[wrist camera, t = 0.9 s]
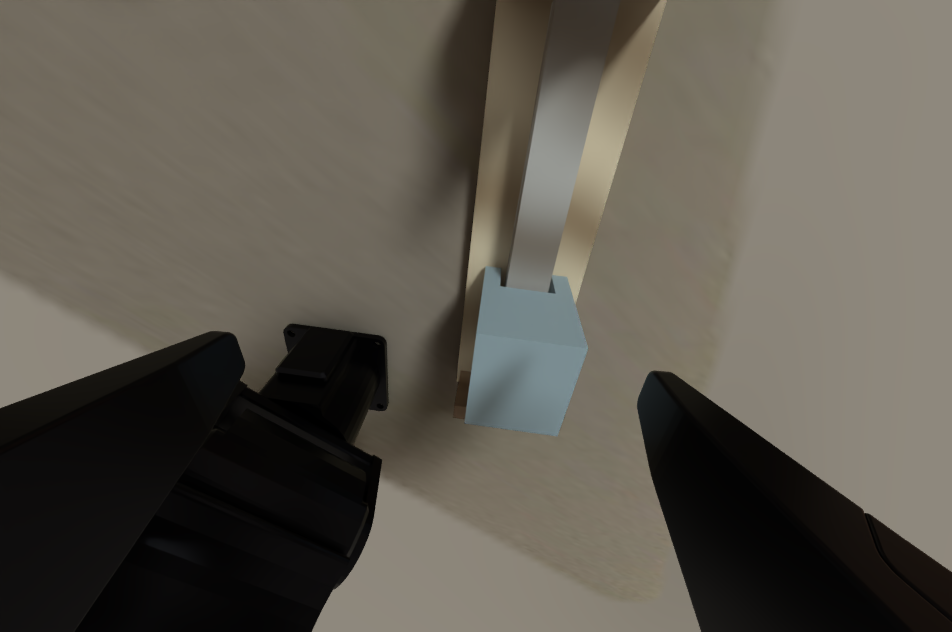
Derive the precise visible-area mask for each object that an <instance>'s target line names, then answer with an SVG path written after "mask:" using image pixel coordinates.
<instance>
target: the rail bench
mask: <svg viewBox="0 0 952 632" xmlns="http://www.w3.org/2000/svg"><path fill="white" fill-rule="evenodd" d="M666 1H667V0H497V1H496V10H495V20H494V29H493V39H492V48H491V57H490V67H489V76H488V86H487V95H486V105H485V114H484V124H483V133H482V143H481V152H480V162H479V171H478V180H477V190H476V199H475V209H474V218H473V228H472V237H471V247H470V256H469V266H468V275H467V284H466V294H465V303H464V313H463V322H462V332H461V341H460V351H459V360H458V370H457V379H456V381H457V382H458V388H457V394H456V399H455V405H454V414H453V418H459V419H465V415H466V407H467V400H468V392H469V385H470V377H471V370H472V362H473V355H474V347H475V340H476V333H477V325H478V318H479V311H480V304H481V297H482V289H483V282H484V275H485V268H486V266H489V267H497V268H501V282H500V286H502V287H509V288H517V289H524V290H531V291H539V292H546V293H548V290H549V286H550V282H551V278H552V275H556V276H564V277H567V278H568V282H569V285H570V289H571V292H572V295H573V299H574V302H575V303H576V300H577V297H578V293H579V290H580V287H581V284H582V280H583V277H584V274H585V270H586V267H587V264H588V260H589V257H590V254H591V250H592V247H593V244H594V240H595V237H596V234H597V230H598V227H599V224H600V220H601V217H602V214H603V210H604V207H605V204H606V200H607V197H608V194H609V190H610V187H611V184H612V181H613V177H614V174H615V171H616V167H617V164H618V161H619V157H620V154H621V151H622V147H623V144H624V141H625V137H626V134H627V131H628V127H629V124H630V121H631V117H632V114H633V111H634V107H635V104H636V101H637V97H638V94H639V91H640V87H641V84H642V81H643V78H644V74H645V71H646V68H647V64H648V61H649V58H650V54H651V51H652V48H653V44H654V41H655V38H656V34H657V31H658V28H659V24H660V21H661V18H662V14H663V11H664V8H665V4H666Z"/></svg>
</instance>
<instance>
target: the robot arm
mask: <svg viewBox="0 0 952 632" xmlns="http://www.w3.org/2000/svg"><path fill="white" fill-rule="evenodd" d="M291 331H293V332H294V333H293V332H291ZM283 333H284V337H285V342H286V346H287V351H288V354H287V356H286V357H285V358H284V359H283V360H282V362H281V363H280V364H279V365H278V366H277V368H276V372H275V374H274V375H273V376H272V377H271V379H270V380H269V381H268V382H267V383H266V385H265V386H264V387H263V388H262V390H261V391H260V392H259V393H257V392H255V391H253V390H251V389H250V388H248V387H247V386H248V385H246V384H245V383H243V382H241V381H239V380H240V378H241V376H242V375H243V372H244V369H245V361H244V358H243V355H242V352H241V349H240V347H239V344H238V341H237V338H236V337H235V335H234V334H232V333H230V332H221V331H210V332H207V333H205V334H202V335H199V336H196V337H194V338H191V339H188V340H185V341H183V342H180V343H177V344H175V345H172V346H169V347H166V348H164V349H161V350H158V351H155V352H153V353H150V354H147V355H144V356H142V357H139V358H136V359H134V360H131V361H128V362H126V363H123V364H120V365H117V366H114V367H112V368H109V369H106V370H103V371H101V372H98V373H95V374H93V375H90V376H87V377H84V378H82V379H79V380H76V381H73V382H71V383H68V384H65V385H62V386H60V387H57V388H54V389H51V390H49V391H46V392H44V393H41V394H38V395H35V396H33V397H30V398H27V399H24V400H21V401H19V402H16V403H13V404H11V405H8V406H5V407H2V408H0V632H312V629H313V627H314V625H315V623H316V621H317V619H318V617H319V615H320V613H321V610H322V609H323V607H324V605H325V603H326V601H327V599H328V597H329V596H330V594H331V592H332V590H333V589H336V588H337V587H338V586H339V585H340V584H341V583H342V582H343V581H344V580H345V579H346V577H347V576H348V575H349V573H350V572H351V570H352V569H353V567H354V565H355V564H356V562H357V560H358V558H359V557H360V555H361V553H362V550H363V548H364V546H365V544H366V541H367V539H368V536H369V533H370V530H371V527H372V523H373V518H374V512H375V505H376V498H377V492H378V485H379V478H380V471H381V464H382V459H380V458H378V457H377V456H375V455H373V456H371V455H369V454H368V453H366V452H364V451H362V450H360V449H359V448H357V447H355V446H353V444H354V442H355V440H356V437H357V435H358V433H359V431H360V428H361V426H362V424H363V421H364V419H365V417H366V415H367V412H368V410H376V411H385V410H386V409H387V407H388V404H389V399H388V369H387V342H386V340H385V338H383V337H382V336H379V335H372V334H365V333H357V332H350V331H343V330H336V329H328V328H321V327H314V326H306V325H298V324H289V325H287V327H286V328H285V329H284V330H283ZM375 342H378V343H380V345H378V344H376V343H375ZM637 409H638V414H639V419H640V424H641V429H642V434H643V439H644V444H645V449H646V454H647V459H648V464H649V468H650V472H651V477H652V480H653V483H654V487H655V490H656V493H657V496H658V499H659V502H660V505H661V509H662V512H663V515H664V518H665V521H666V524H667V527H668V530H669V533H670V536H671V540H672V543H673V546H674V549H675V552H676V555H677V558H678V561H679V564H680V567H681V571H682V574H683V577H684V579H685V583H686V586H687V589H688V592H689V595H690V598H691V601H692V605H693V608H694V611H695V614H696V617H697V620H698V623H699V626H700V629H701V632H952V572H951V571H949V570H948V569H946V568H945V567H943V566H942V565H941V564H939V563H938V562H936V561H935V560H934V559H932V558H931V557H929V556H928V555H927V554H925V553H924V552H922V551H921V550H919V549H918V548H917V547H915V546H914V545H912V544H911V543H909V542H908V541H906V540H905V539H903V538H902V537H901V536H899V535H898V534H897V533H895V532H894V531H892V530H891V529H890V528H888V527H887V526H885V525H884V524H883V523H881V522H880V521H878V520H877V519H876V518H874V517H873V516H872V515H870V514H868V513H864V511H863V509H862V508H860V507H859V506H857V505H856V504H855V503H853V502H852V501H851V500H849V499H848V498H846V497H845V496H844V495H842V494H840V493H839V492H838V491H837V490H835V489H834V488H832V487H831V486H830V485H828V484H827V483H825V482H824V481H823V480H821V479H820V478H819V477H817V476H816V475H814V474H813V473H812V472H810V471H809V470H807V469H806V468H805V467H803V466H802V465H800V464H799V463H798V462H796V461H795V460H793V459H792V458H791V457H789V456H788V455H786V454H785V453H783V452H782V451H780V450H779V449H778V448H777V447H775V446H773V445H772V444H771V443H770V442H768V441H767V440H765V439H764V438H763V437H761V436H760V435H758V434H757V433H756V432H754V431H753V430H752V429H750V428H749V427H747V426H746V425H745V424H743V423H742V422H740V421H739V420H738V419H736V418H735V417H733V416H732V415H731V414H729V413H728V412H726V411H725V410H724V409H722V408H721V407H719V406H718V405H716V404H715V403H714V402H712V401H711V400H709V399H708V398H707V397H705V396H704V395H703V394H701V393H700V392H699V391H697V390H696V389H694V388H693V387H692V386H690V385H689V384H687V383H686V382H685V381H683V380H682V379H680V378H679V377H678V376H676V375H675V374H673V373H671V372H664V371H651V372H650V373H649V374H648V376H647V378H646V380H645V383H644V385H643V388H642V390H641V392H640V395H639V397H638V402H637Z"/></svg>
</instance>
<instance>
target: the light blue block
mask: <svg viewBox="0 0 952 632" xmlns="http://www.w3.org/2000/svg"><path fill="white" fill-rule="evenodd" d="M500 282H501V268H497V267H489V266H486V268H485V275H484V282H483V289H482V297H481V304H480V311H479V318H478V325H477V333H476V340H475V347H474V355H473V362H472V370H471V377H470V385H469V392H468V400H467V407H466V415H465V422H464V423H465V424H472V425H479V426H486V427H494V428H501V429H508V430H515V431H522V432H530V433H537V434H544V435H551V436H558V433H559V430H560V427H561V424H562V422H563V419H564V416H565V413H566V410H567V407H568V405H569V402H570V399H571V396H572V393H573V390H574V387H575V385H576V382H577V379H578V376H579V373H580V370H581V368H582V365H583V362H584V359H585V356H586V353H587V350H588V346H587V343H586V340H585V336H584V333H583V329H582V326H581V323H580V319H579V316H578V312H577V309H576V306H575V302H574V299H573V295H572V292H571V289H570V285H569V282H568V278H567V277H564V276H556V275H552V278H551V282H550V286H549V290H548V293H546V292H539V291H531V290H524V289H517V288H509V287H502V286H500Z"/></svg>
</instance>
